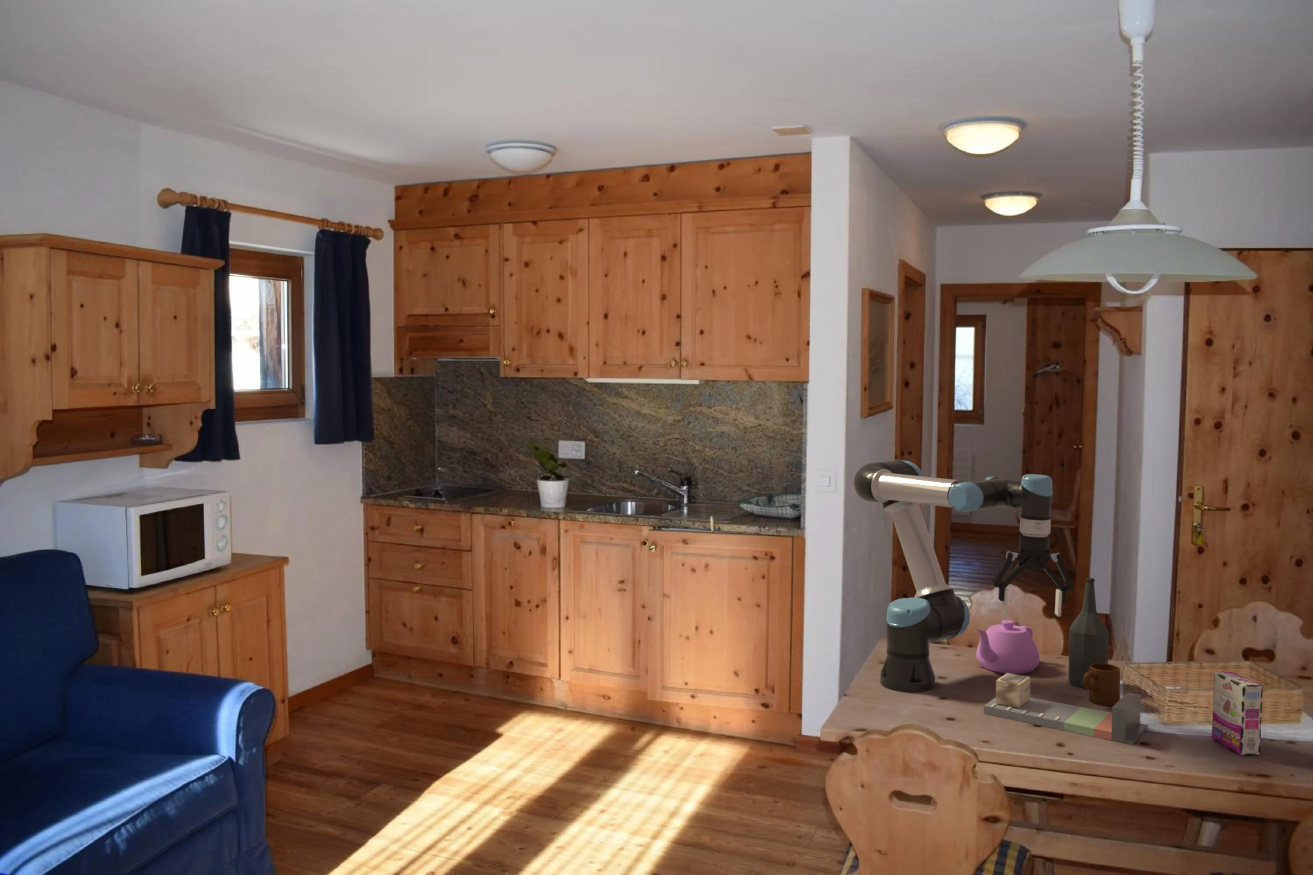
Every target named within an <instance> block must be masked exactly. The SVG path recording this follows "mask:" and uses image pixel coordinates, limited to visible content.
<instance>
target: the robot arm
mask: <svg viewBox="0 0 1313 875" xmlns="http://www.w3.org/2000/svg"><path fill="white" fill-rule="evenodd" d="M853 486H854V490H855V493H856V494H857V495H858V497H860V498H861V499H862V500H864V501H866V502H870V503H881V504H882V507H883V510H884V511H885V512H887V513H889V514H890V516H891V518H892V521H893V524H894V527H895V530H896V534H897V537H898V540H899V542H900V545H901V548H902V551H903V555H904V557H905V561H906V563H907V567H908V570H909V573H910V576H911V579H912V581H913V585H914V589H915V591H916V592H915V594H914V597H908V598H906V597H903V598H898V599H895V600H893V601H892V602H890V603H889V604H888V606H887V608H886V609H887V611H886V612H887V613H886V620H885V621H886V656H885V659H884V662H883V665H882V668H881V670H880V673H879V674H880V675H879V682H880V684H881V685H882V686H883V687H884V688H887V689H891V690H894V691H901V692H910V693H911V692H913V693H916V692H917V693H918V692H925V691H926V692H927V691H930V690H933V689H934V688H935V687H936V675H935V672H934V668H933V666H932V662H931V659H930V644H933V643H937V642H941V641H946V640H948V641H949V640H952V639H954V638H956V637H959V636H961V635H963V634H964V633H965V632H966V631H967V629H968V626H969V624H970V621H971V620H970V619H971V615H970V609H969V607H968V604H967V602H966V601H965V600H964V599H962V598H961V596H957V595H956V593H955V590H954V588H953V587H952V586H950V585H948V584H947V583H946V581H945V577H944V575H943V572H942V569H941V566H940V563H939V561H938V557H937V555H936V550H935V548H934V545H933V542H932V539H931V536H930V533H929V530H928V527H927V524H926V521H925V518H924V515H923V512H922V510H921V506H920V505H929V506H935V507H937V506H938V507H943V508H944V507H945V508H952V509H954V510H955V511H957V512H965V513H970V512H971V513H972V512H974V511H981V510H988V509H997V508H1010V509H1016V510H1020V519H1019V532H1020V534H1019V537H1018V538H1019V539H1018V551H1017V552H1014V551H1013V552H1012V551H1010V550H1007V551H1006V552H1005V557H1004V560H1003V561H1002V563H1001V565H1000V567H999V569H998V570H997V572H996V573H995V575H994V577H993V579H992V581H991V585H993V586H994V588H998V601H1000V602H1001V613H1002V614H1003V615H1005V616H1006V615H1008V604H1009V602H1008V600H1009V589H1008V588H1007V587H1009V585H1010V584H1011V583H1012V582H1013V581H1014V580H1015V579H1016V578H1017V577H1018V576H1019V575H1020V574H1021V573H1022V572H1024V570H1027V571H1033V570H1034V571H1041V570H1044V572H1046V574H1047V575H1048V576H1049V577H1050V579H1051V580H1052V581H1053V582H1054V584H1055V585H1056V586H1057V587H1058V589H1057V588H1056V589H1055V600H1054V602H1055V605H1054V606H1055V607H1054V615H1055V616H1057V617H1062V604H1065V603H1066V596H1067V592H1068V591H1069V590H1073V589H1074V588H1075V586H1074V584H1073V582H1072V579H1071V578H1070V575H1069V573H1068V571H1067V569H1066V566H1065V565H1064V562H1063V555H1062V554H1061V553H1060V552H1058V551H1057V552H1055V553H1050V547H1051V546H1050V545H1051V537H1050V534H1051V523H1052V522H1051V521H1052V515H1051V514H1052V506H1053V504H1052V503H1053V502H1052V501H1053V495H1054V491H1053V479H1052V477H1051V476H1048V475H1044V474H1036V473H1035V474H1034V473H1031V474H1029V473H1028V474H1024V475H1023V476H1022V477H1021V480H1019V479H1018V480H1016V479H1012V478H1004V477H1002V476H987V477H986V478H985V479H984V480H978V481H977V480H976V481H975V480H973V481H971V480H970V481H968V480H959V479H949V478H940V477H933V476H931V477H930V476H924V473H923V472H922V470H921V469H920V468H919V466H918V465H916V464H915V463H914V462H911V461H909V460H901V459H895V460H890V461H879V462H870V463H867V464H864V465H862V466H861V467H860V468H859V469H858V470H857V472H856V473H855V475H854V479H853ZM1016 558H1017V560H1018V561H1019V562H1018V563H1016V565H1015V567H1014V568H1012V569H1011V571H1010V572H1009V573H1007V571H1008V569H1009V568H1010V566H1011V564H1012V562H1013V561H1015V559H1016ZM1051 559H1052V561H1053V562H1055V564H1056V567H1057V568H1058V571H1059V573H1060V575H1061V577H1062V579H1063V582H1064V583H1065V584H1063V582H1062V581H1061V580H1060V578H1059V577H1058V576H1057V575H1056V573H1055V572H1054V571H1053V570H1052V569H1051V567H1050V566H1049V565H1048V563H1049V562H1050V560H1051ZM1006 573H1007V575H1006ZM1005 575H1006V576H1005Z"/></svg>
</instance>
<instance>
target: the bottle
mask: <svg viewBox="0 0 1313 875" xmlns="http://www.w3.org/2000/svg"><path fill="white" fill-rule="evenodd" d="M1095 580H1096V579H1095V578H1093V577H1086V578H1085V587H1084V595H1083V600H1082V601H1083V603H1082V610H1081V611H1080V612H1079V614H1078V615H1077V617H1076V618H1075V619H1074V621H1073V622H1072V623H1071V625H1070V626H1069V637H1068V638H1069V640H1068V644H1069V645H1068V682H1069V683H1070V685H1072V686H1074V687H1077V688H1081V689H1086V688H1085V687H1084V684H1083V677H1084V675H1085V673H1087V672H1089V669H1090V665H1091V664H1094V663H1105V664H1109V642H1110V641H1109V640H1110V639H1109V630H1108V629H1107V627H1106V625H1105V623H1104V621H1103V619H1101V617H1100V616H1099V614H1098V612H1097V601H1096V591H1095V590H1096V589H1095ZM1086 690H1087V689H1086Z"/></svg>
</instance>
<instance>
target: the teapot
mask: <svg viewBox="0 0 1313 875" xmlns="http://www.w3.org/2000/svg"><path fill="white" fill-rule="evenodd" d="M1015 624H1016V623H1015V621H1013V620H1009V619H1007V620H1006V619H1005V620H1002V621H1001V623H1000V624H993V625H991V626H989V628H988V629H987V630H986V631H985V630H982V629H979V628H978V629H975V630H976V631H977V632H978V634H979V637H980V638H979V643H978V644H977V648H976V653H975V657H976V660H977V662H978V663H979V664H980V665H981V667H983V668H984V669H985V670H988V671H990V672H995V673H1000V674H1006V673H1011V674H1016V675H1023V674H1029V673H1032V672H1033V671H1034V670H1035V669H1036V668H1037V667H1038V666H1039V664H1040V661H1041V660H1040V657H1041V656H1040V652H1039V649H1038V646H1037V644H1036V642H1035V640H1034V639H1033V633H1034V632H1033V631H1032V628H1031V627H1030V626H1028V625H1021V626H1020V625H1015Z"/></svg>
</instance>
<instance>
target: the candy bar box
mask: <svg viewBox="0 0 1313 875" xmlns="http://www.w3.org/2000/svg"><path fill="white" fill-rule="evenodd" d="M1263 688H1264V685H1262V684H1260V683H1259V682H1256V681H1253V680H1251V679H1249V678H1247V677H1245V676H1243V675H1240V674H1238V673H1236V672H1234V671H1217V672H1215V671H1214V672H1213V693H1212V694H1213V697H1212V698H1213V699H1212V720H1211V721H1212V722H1211V724H1212V725H1211V728H1212V729H1211V739H1212V740H1213V741H1215V742H1217V743H1218V744H1220V745H1222V746H1223V747H1225V748H1227V749H1228V750H1231V751H1233V752H1234V753H1236V754H1238V755H1240V756H1260V755H1261V742H1262V741H1261V739H1262V738H1261V736H1262V734H1261V733H1262V716H1263V714H1262V713H1263V711H1262V710H1263V691H1264V690H1263Z"/></svg>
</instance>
